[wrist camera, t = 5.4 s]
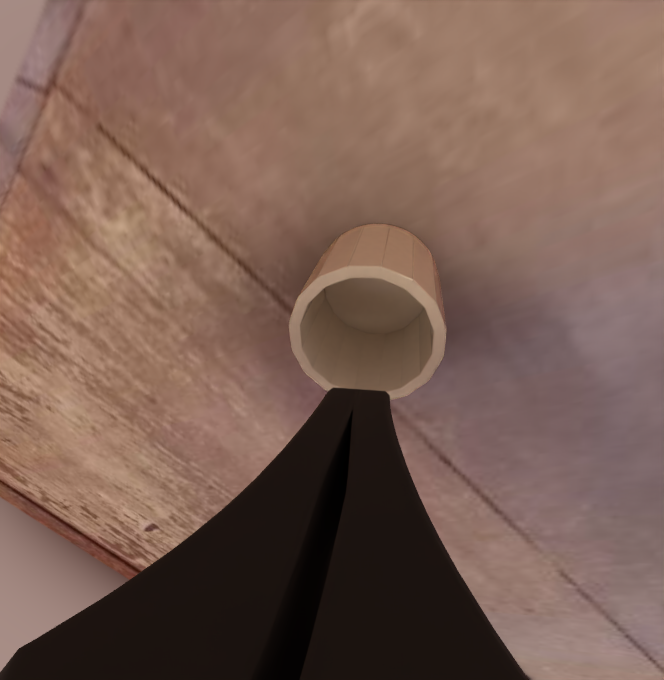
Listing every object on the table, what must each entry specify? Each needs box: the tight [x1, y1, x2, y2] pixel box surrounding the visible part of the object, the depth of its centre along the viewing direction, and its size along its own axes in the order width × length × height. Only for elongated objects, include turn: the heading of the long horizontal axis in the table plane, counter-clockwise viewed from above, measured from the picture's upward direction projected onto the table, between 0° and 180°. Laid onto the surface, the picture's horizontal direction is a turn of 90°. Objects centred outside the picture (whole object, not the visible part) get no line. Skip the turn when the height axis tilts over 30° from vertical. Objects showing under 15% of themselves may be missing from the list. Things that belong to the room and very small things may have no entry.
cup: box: [289, 224, 447, 400], centre depth 16 cm, size 5×5×5 cm
